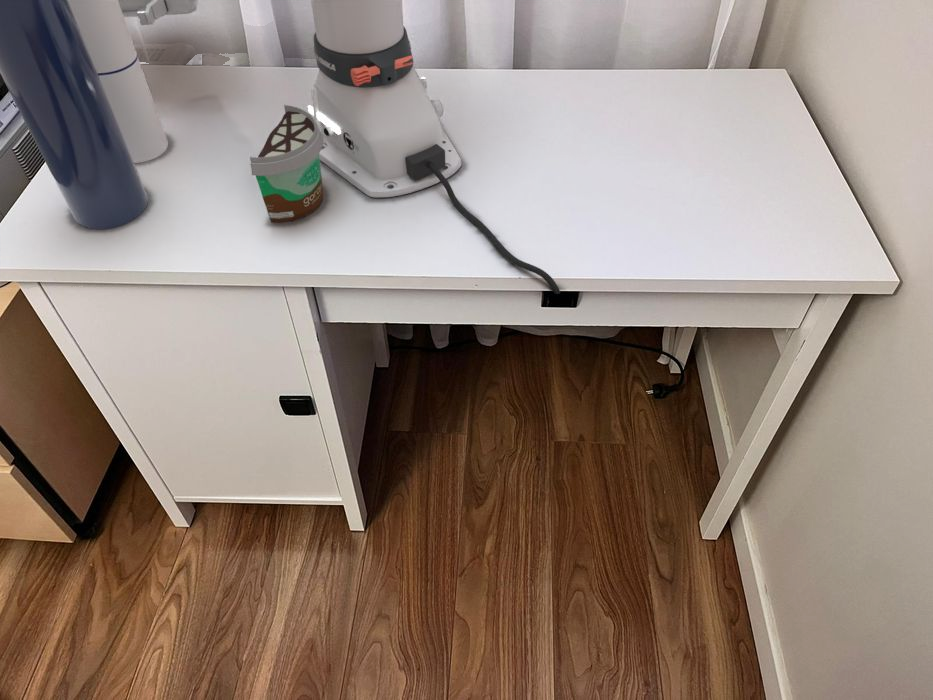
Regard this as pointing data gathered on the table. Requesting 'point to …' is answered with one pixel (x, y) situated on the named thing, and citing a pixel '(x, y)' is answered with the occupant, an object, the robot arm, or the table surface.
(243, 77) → the table surface
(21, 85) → the vase
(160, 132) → the cylindrical container
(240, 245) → the table surface
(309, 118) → the food container
